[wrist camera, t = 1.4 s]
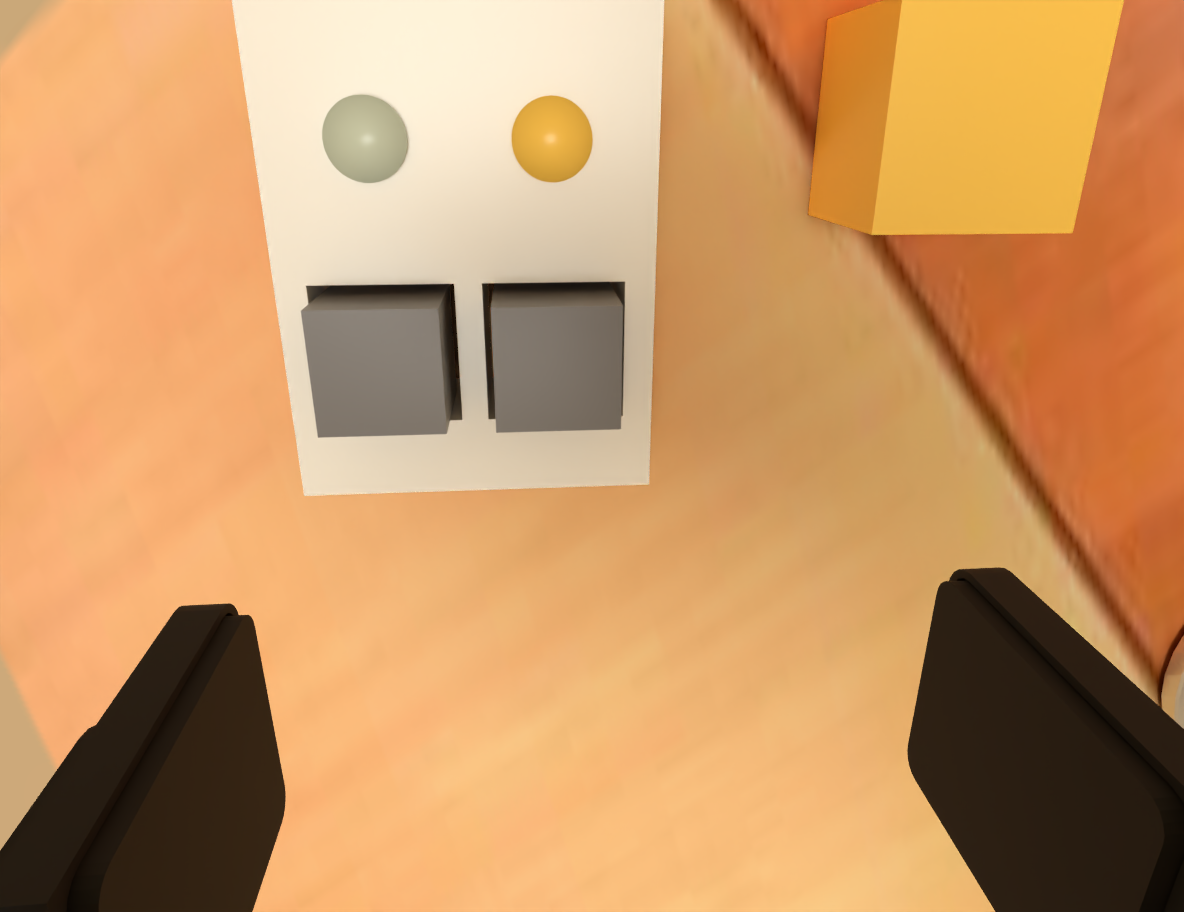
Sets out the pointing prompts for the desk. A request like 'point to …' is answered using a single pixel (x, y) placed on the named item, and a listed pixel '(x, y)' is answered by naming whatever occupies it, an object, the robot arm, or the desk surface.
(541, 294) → the button
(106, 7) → the desk surface
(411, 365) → the block
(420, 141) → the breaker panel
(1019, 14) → the cap
